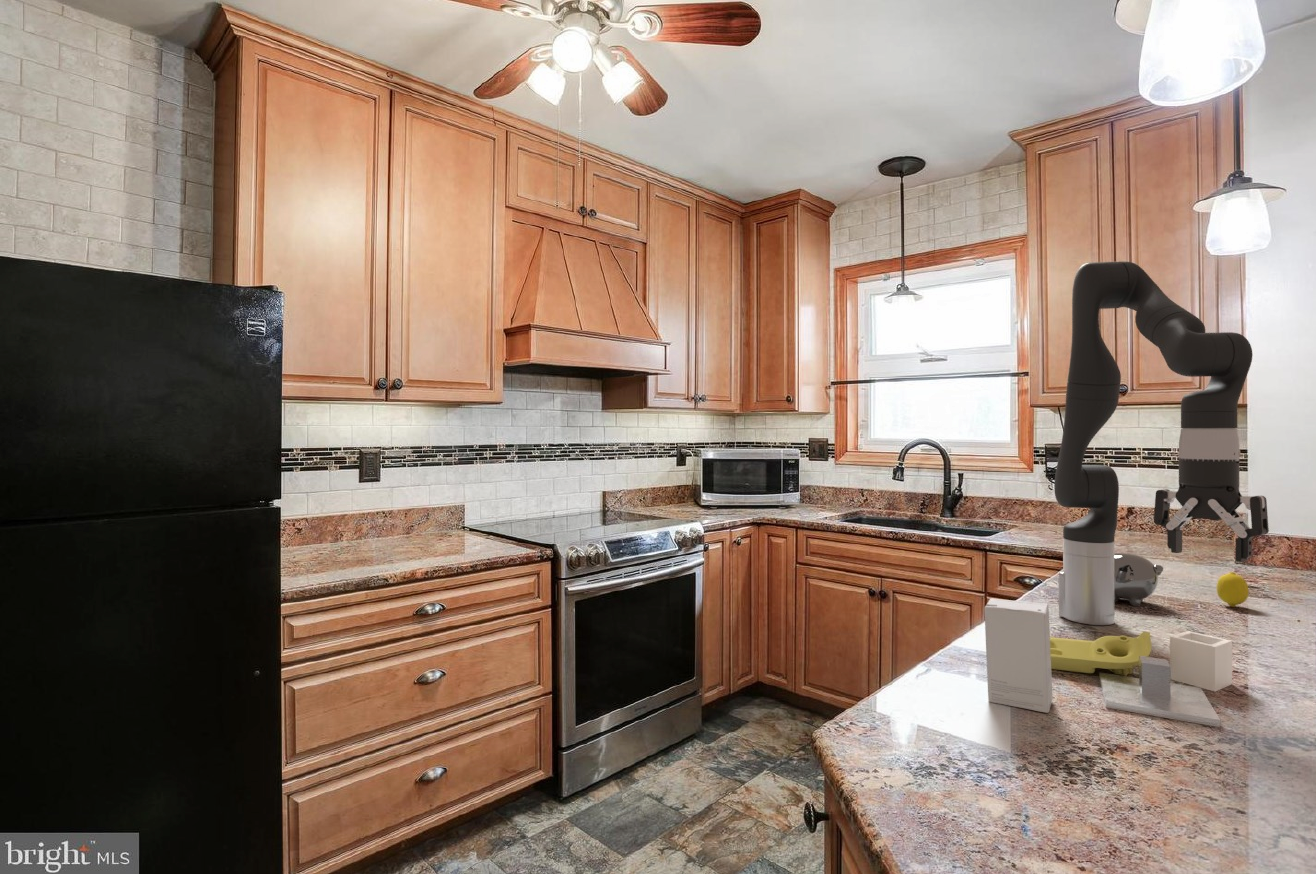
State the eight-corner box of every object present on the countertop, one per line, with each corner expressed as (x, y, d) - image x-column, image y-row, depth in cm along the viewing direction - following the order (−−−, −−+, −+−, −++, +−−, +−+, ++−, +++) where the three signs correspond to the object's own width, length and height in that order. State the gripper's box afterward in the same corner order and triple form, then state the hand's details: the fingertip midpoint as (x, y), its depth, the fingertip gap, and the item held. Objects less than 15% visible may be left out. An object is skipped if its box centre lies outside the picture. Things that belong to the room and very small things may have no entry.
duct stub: (1105, 707, 97) (1105, 666, 97) (1099, 678, 108) (1099, 642, 108) (1220, 727, 90) (1220, 683, 90) (1200, 694, 101) (1201, 655, 101)
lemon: (1215, 602, 154) (1215, 568, 154) (1246, 606, 151) (1246, 571, 151) (1217, 607, 150) (1218, 572, 150) (1250, 611, 147) (1250, 575, 147)
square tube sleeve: (1169, 679, 107) (1170, 636, 107) (1187, 672, 110) (1187, 630, 110) (1215, 691, 102) (1215, 647, 102) (1232, 684, 105) (1232, 640, 105)
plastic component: (1011, 652, 115) (1016, 615, 122) (1017, 684, 117) (1022, 646, 124) (1152, 667, 103) (1149, 624, 110) (1156, 702, 105) (1153, 659, 113)
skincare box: (1052, 701, 99) (1052, 603, 99) (1048, 716, 94) (1048, 612, 94) (990, 689, 104) (990, 595, 104) (984, 702, 99) (984, 603, 99)
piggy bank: (1090, 592, 165) (1090, 546, 165) (1165, 602, 155) (1165, 553, 155) (1081, 600, 157) (1081, 552, 157) (1160, 612, 147) (1160, 561, 147)
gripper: (1146, 455, 110) (1146, 552, 110) (1255, 458, 98) (1255, 567, 98) (1167, 454, 114) (1167, 548, 114) (1275, 457, 102) (1275, 562, 102)
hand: (1208, 556), depth 106 cm, fingers open, 8 cm apart
